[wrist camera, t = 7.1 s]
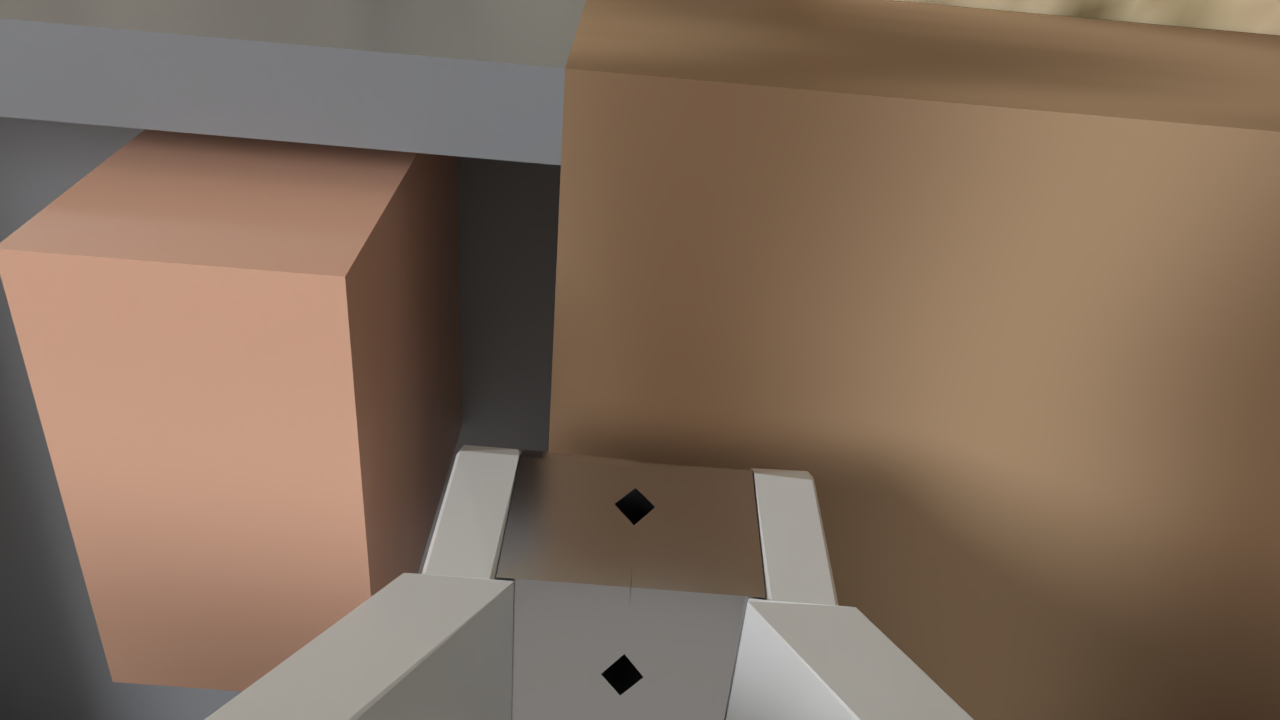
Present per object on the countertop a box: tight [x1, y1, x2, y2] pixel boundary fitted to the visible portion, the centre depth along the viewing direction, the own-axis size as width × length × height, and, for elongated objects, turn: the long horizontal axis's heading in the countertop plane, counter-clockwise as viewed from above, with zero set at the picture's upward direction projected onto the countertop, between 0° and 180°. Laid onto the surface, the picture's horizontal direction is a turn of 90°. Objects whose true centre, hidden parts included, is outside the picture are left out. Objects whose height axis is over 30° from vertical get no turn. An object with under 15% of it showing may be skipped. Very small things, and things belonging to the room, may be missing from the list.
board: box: [549, 0, 1280, 720], centre depth 13 cm, size 16×14×4 cm
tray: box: [0, 0, 586, 720], centre depth 13 cm, size 10×14×4 cm
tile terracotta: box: [0, 129, 462, 692], centre depth 11 cm, size 4×4×2 cm
